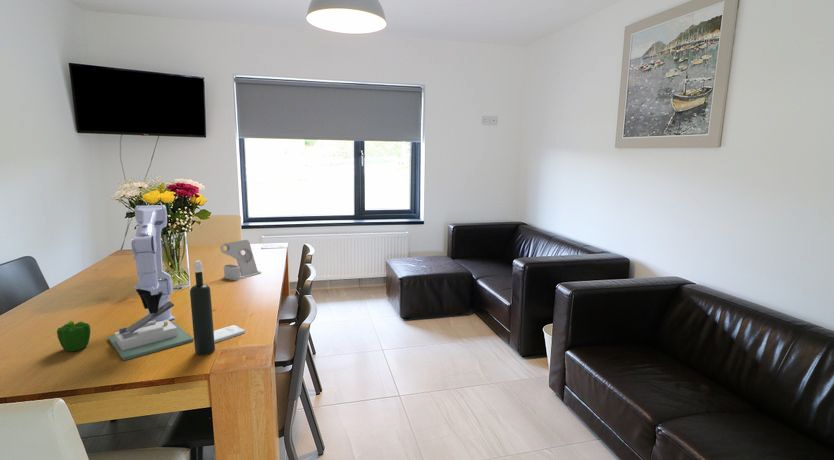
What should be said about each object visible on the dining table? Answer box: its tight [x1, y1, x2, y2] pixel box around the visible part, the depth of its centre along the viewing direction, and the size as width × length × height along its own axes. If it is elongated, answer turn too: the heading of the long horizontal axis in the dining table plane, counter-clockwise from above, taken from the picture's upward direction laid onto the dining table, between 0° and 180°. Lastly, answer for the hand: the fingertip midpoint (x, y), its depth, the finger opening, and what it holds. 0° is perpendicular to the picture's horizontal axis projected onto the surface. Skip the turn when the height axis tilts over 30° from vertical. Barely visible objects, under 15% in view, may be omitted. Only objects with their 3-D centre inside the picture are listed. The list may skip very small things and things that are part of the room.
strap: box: [122, 301, 175, 333], centre depth 144 cm, size 16×4×1 cm, turn 136°
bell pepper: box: [56, 320, 91, 352], centre depth 137 cm, size 8×8×10 cm
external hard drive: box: [214, 324, 246, 344], centre depth 149 cm, size 2×8×12 cm
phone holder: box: [219, 239, 262, 281], centre depth 224 cm, size 17×10×18 cm, turn 148°
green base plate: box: [107, 320, 194, 361], centre depth 144 cm, size 22×20×6 cm
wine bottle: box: [189, 260, 216, 356], centre depth 134 cm, size 6×6×30 cm
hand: (151, 310), depth 144 cm, fingers open, 6 cm apart
